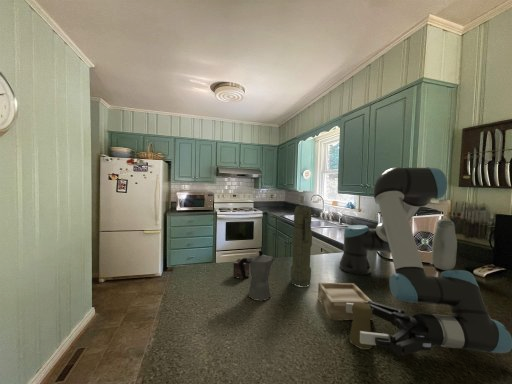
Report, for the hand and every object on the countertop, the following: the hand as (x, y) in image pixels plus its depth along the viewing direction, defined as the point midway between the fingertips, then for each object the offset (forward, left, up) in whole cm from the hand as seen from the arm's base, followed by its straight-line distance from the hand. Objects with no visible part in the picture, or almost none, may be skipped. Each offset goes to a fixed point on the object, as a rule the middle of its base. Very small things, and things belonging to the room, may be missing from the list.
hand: (352, 320), depth 62 cm
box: (-43, -33, -6) cm, 55 cm away
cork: (0, +3, -6) cm, 7 cm away
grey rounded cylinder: (-57, +77, -6) cm, 96 cm away
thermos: (-37, -6, -6) cm, 38 cm away
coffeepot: (-25, -26, -6) cm, 37 cm away
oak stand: (-17, +5, -6) cm, 19 cm away
